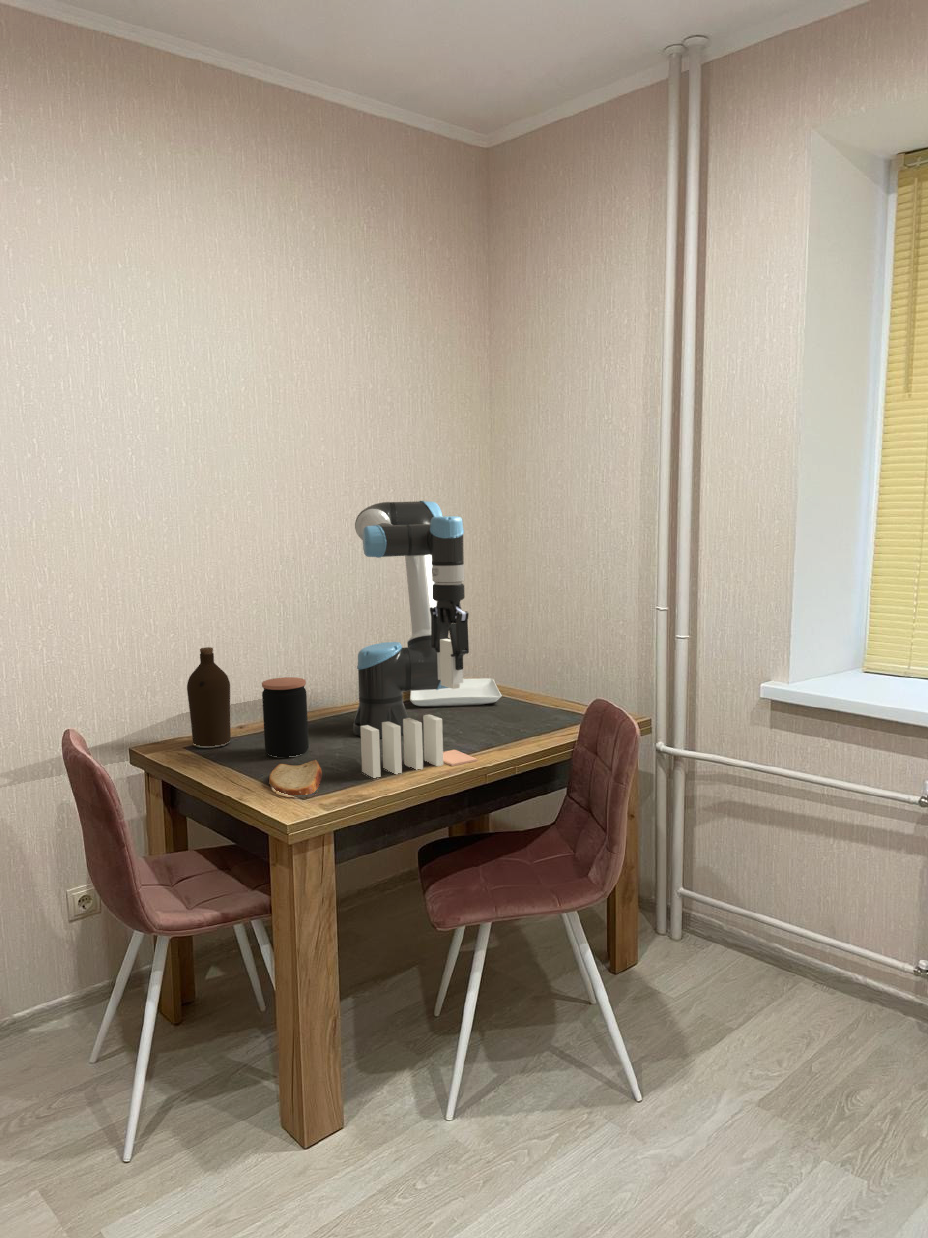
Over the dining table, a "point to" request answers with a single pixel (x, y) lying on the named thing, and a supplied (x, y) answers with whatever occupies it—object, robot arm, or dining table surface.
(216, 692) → the olive oil
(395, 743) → the domino
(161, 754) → the dining table surface
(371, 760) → the domino
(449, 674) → the domino
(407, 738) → the domino
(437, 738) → the domino
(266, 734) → the coffee jar
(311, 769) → the slice of bread
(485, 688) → the square plate
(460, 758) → the mat
